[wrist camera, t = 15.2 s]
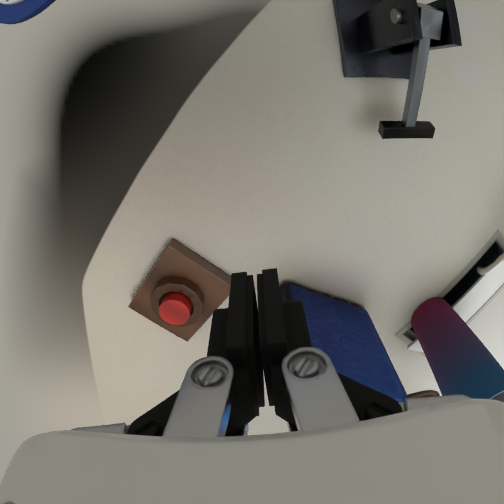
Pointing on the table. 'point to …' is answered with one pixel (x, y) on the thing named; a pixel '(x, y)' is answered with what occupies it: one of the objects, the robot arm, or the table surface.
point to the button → (175, 308)
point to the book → (347, 339)
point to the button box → (182, 288)
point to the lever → (416, 81)
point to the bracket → (387, 35)
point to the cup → (456, 353)
